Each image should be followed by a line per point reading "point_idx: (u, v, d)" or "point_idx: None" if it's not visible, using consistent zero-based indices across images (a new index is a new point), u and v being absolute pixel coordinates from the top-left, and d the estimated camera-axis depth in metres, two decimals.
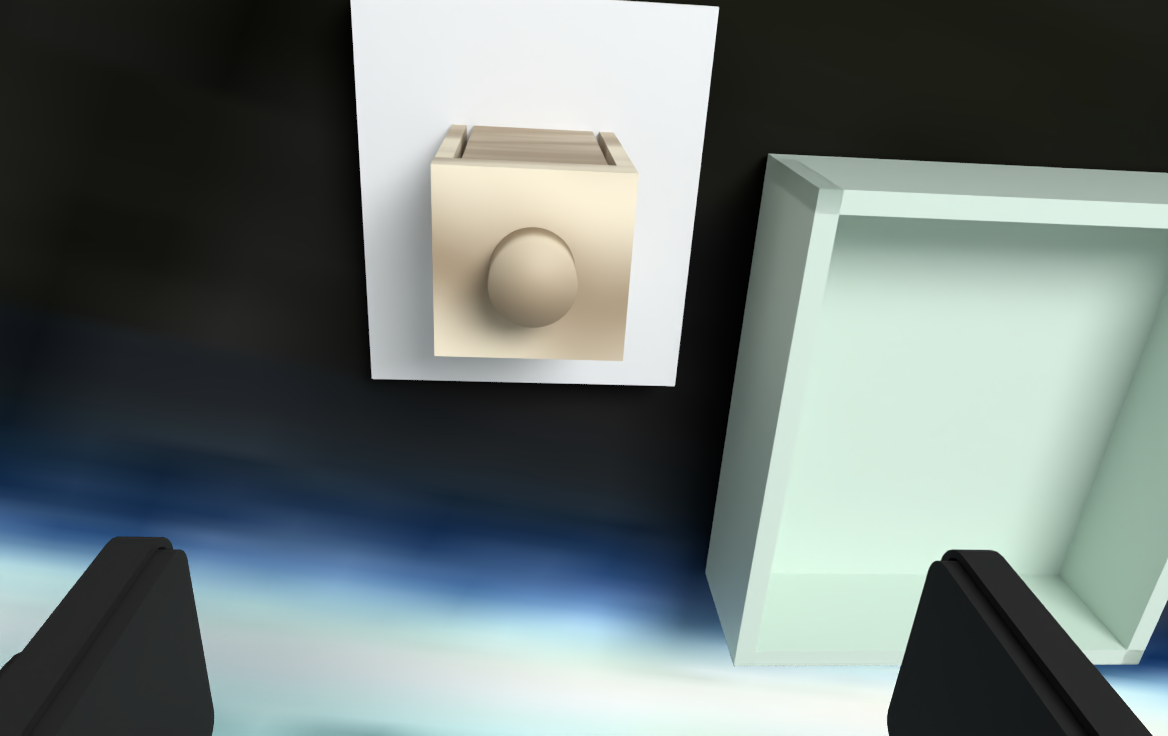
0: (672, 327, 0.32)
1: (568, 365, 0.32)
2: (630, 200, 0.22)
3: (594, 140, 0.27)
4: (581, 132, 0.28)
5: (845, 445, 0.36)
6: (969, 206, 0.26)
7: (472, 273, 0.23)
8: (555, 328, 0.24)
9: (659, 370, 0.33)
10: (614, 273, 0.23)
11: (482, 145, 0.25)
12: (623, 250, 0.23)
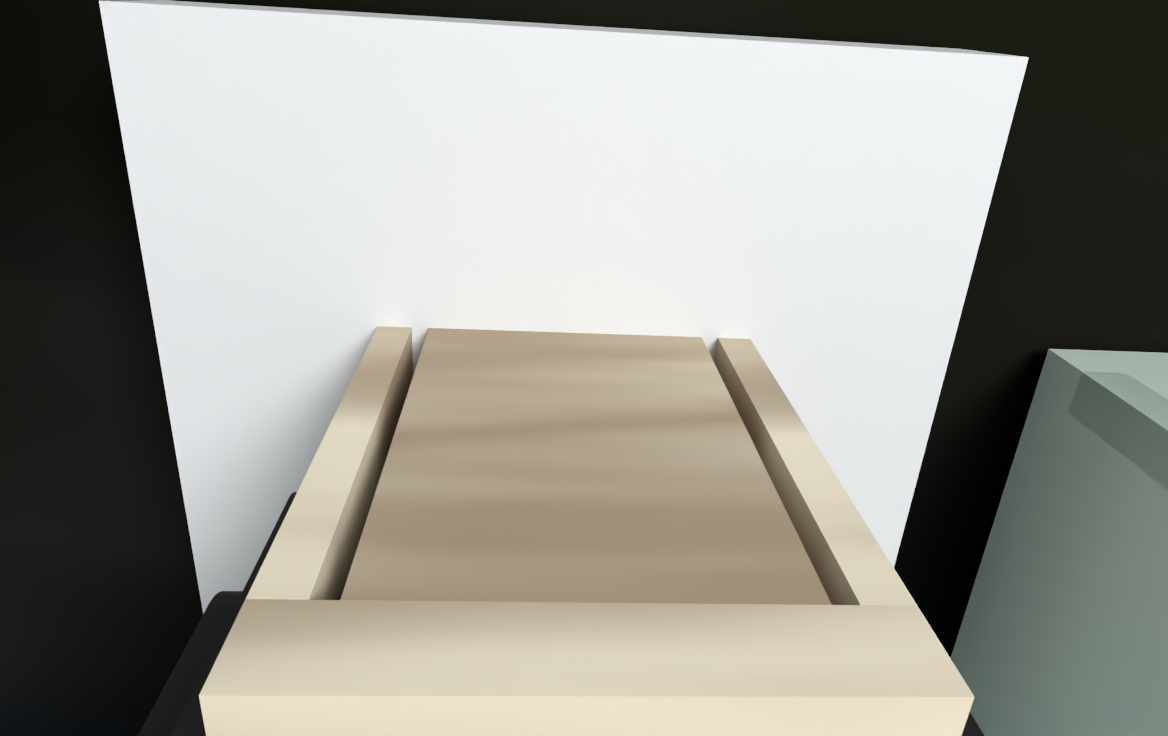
0: None
1: None
2: None
3: (722, 392, 0.11)
4: (678, 345, 0.12)
5: None
6: None
7: None
8: None
9: None
10: None
11: (430, 461, 0.09)
12: None
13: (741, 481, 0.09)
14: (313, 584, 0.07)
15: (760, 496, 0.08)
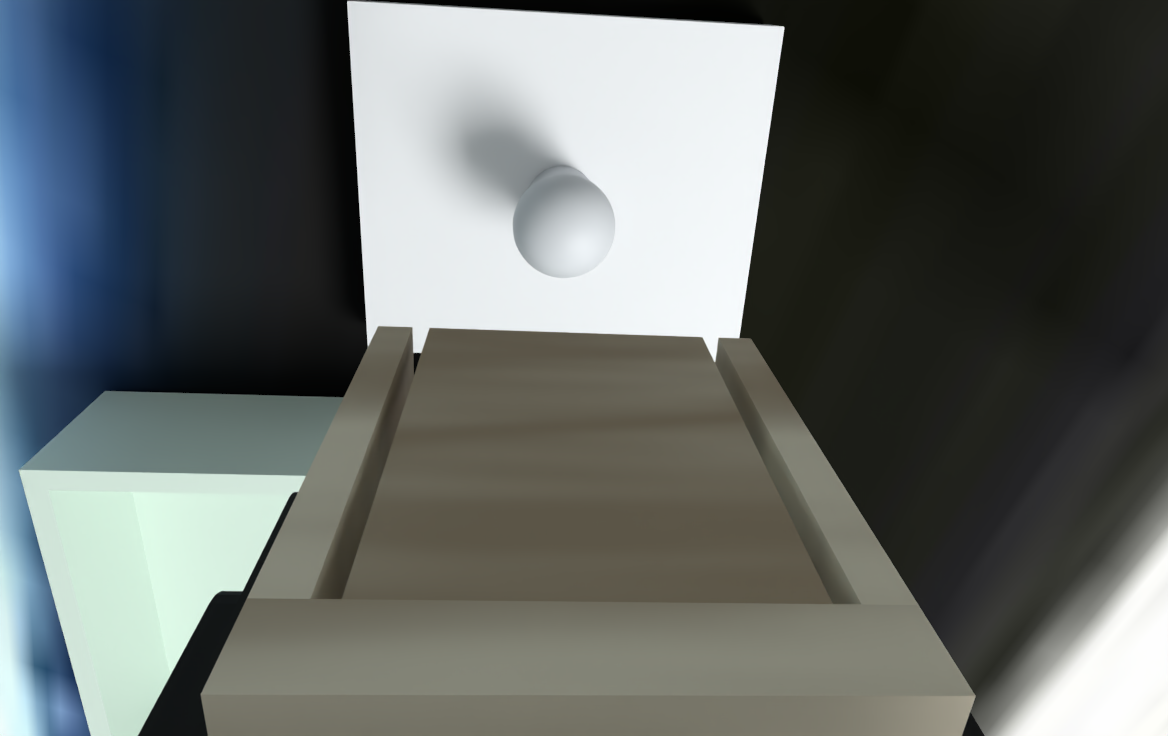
0: None
1: (383, 239, 0.29)
2: None
3: (723, 392, 0.11)
4: (679, 344, 0.12)
5: None
6: None
7: None
8: None
9: None
10: None
11: (431, 460, 0.09)
12: None
13: (742, 481, 0.09)
14: (314, 583, 0.07)
15: (761, 496, 0.08)
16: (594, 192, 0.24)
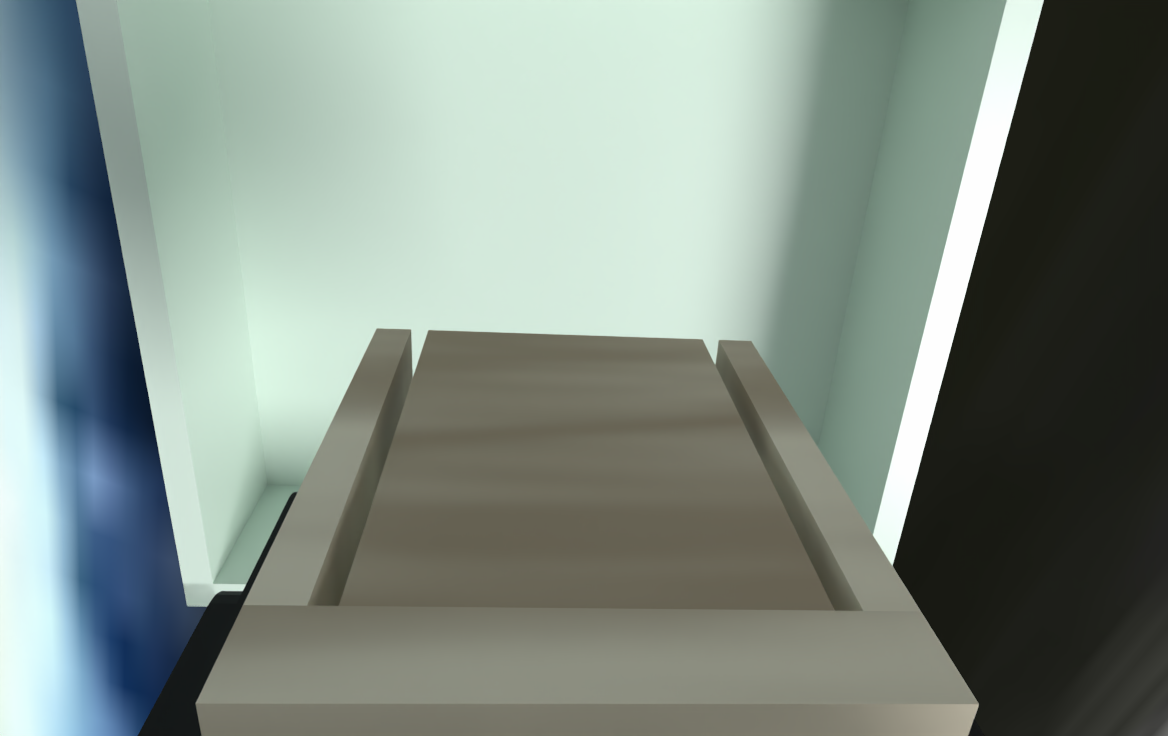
0: None
1: None
2: None
3: (723, 394, 0.11)
4: (679, 347, 0.12)
5: (481, 120, 0.23)
6: (981, 176, 0.19)
7: None
8: None
9: None
10: None
11: (429, 465, 0.09)
12: None
13: (742, 485, 0.09)
14: (311, 590, 0.07)
15: (761, 500, 0.08)
16: None
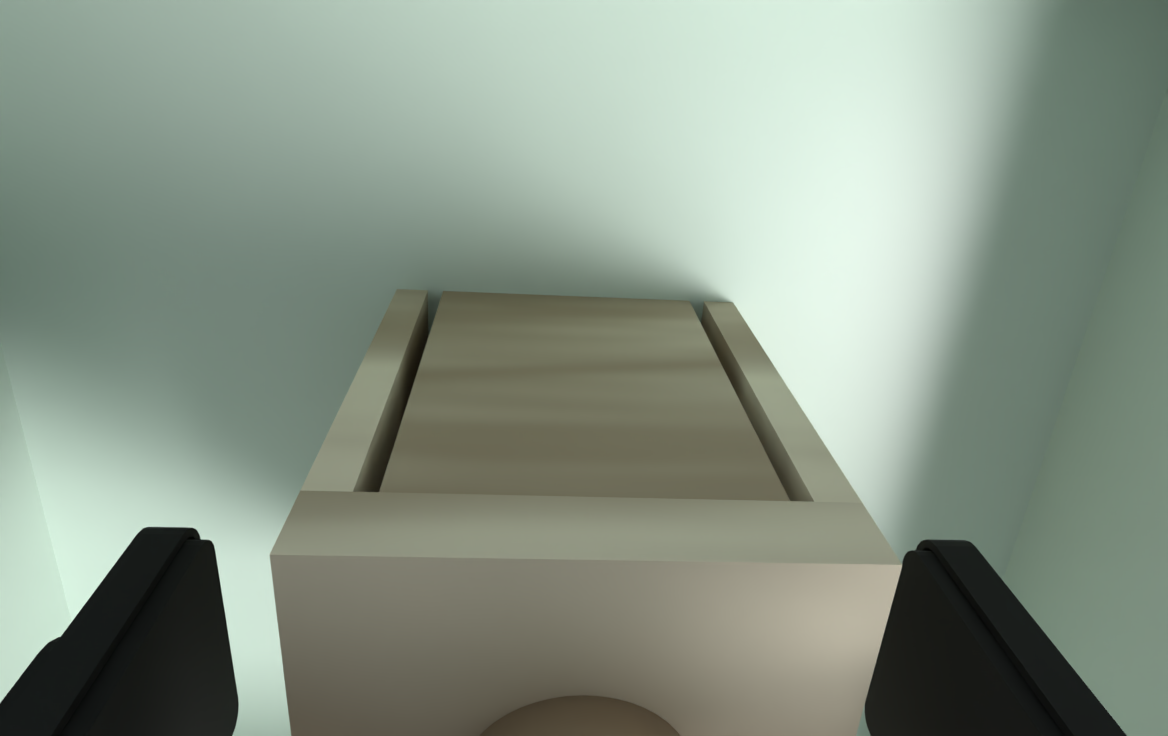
0: None
1: None
2: (867, 628, 0.08)
3: (706, 344, 0.12)
4: (668, 306, 0.13)
5: (430, 229, 0.13)
6: None
7: None
8: None
9: None
10: None
11: (449, 394, 0.10)
12: None
13: (719, 412, 0.10)
14: (355, 482, 0.08)
15: (734, 423, 0.10)
16: None
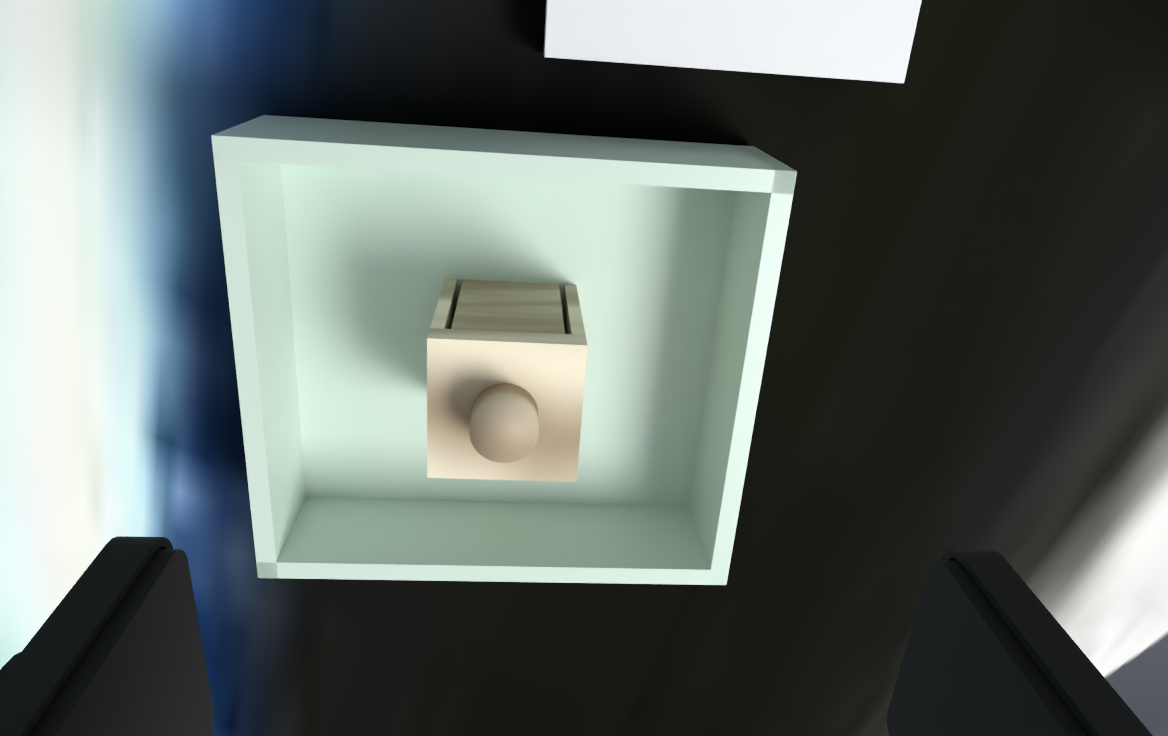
0: (612, 51, 0.31)
1: None
2: (581, 364, 0.29)
3: (558, 298, 0.33)
4: (549, 286, 0.35)
5: (458, 255, 0.34)
6: (764, 306, 0.31)
7: (457, 417, 0.30)
8: (523, 457, 0.30)
9: (563, 38, 0.30)
10: (569, 417, 0.30)
11: (468, 309, 0.31)
12: (576, 400, 0.30)
13: (554, 315, 0.31)
14: (443, 327, 0.29)
15: (557, 318, 0.31)
16: None
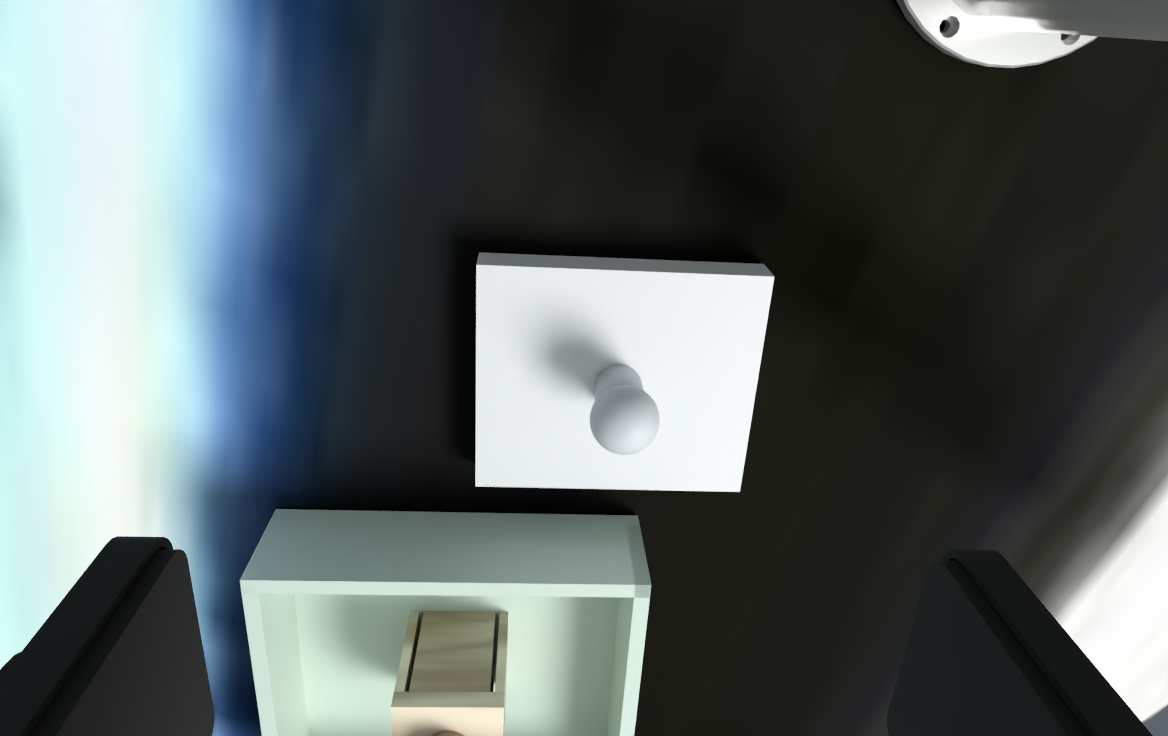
0: (524, 481, 0.42)
1: (491, 412, 0.41)
2: (500, 718, 0.41)
3: (492, 635, 0.45)
4: (488, 615, 0.47)
5: (419, 596, 0.46)
6: (635, 661, 0.43)
7: None
8: None
9: (488, 475, 0.42)
10: None
11: (423, 659, 0.43)
12: None
13: (485, 664, 0.43)
14: (404, 688, 0.42)
15: (487, 667, 0.43)
16: (646, 402, 0.36)
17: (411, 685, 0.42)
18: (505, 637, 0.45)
